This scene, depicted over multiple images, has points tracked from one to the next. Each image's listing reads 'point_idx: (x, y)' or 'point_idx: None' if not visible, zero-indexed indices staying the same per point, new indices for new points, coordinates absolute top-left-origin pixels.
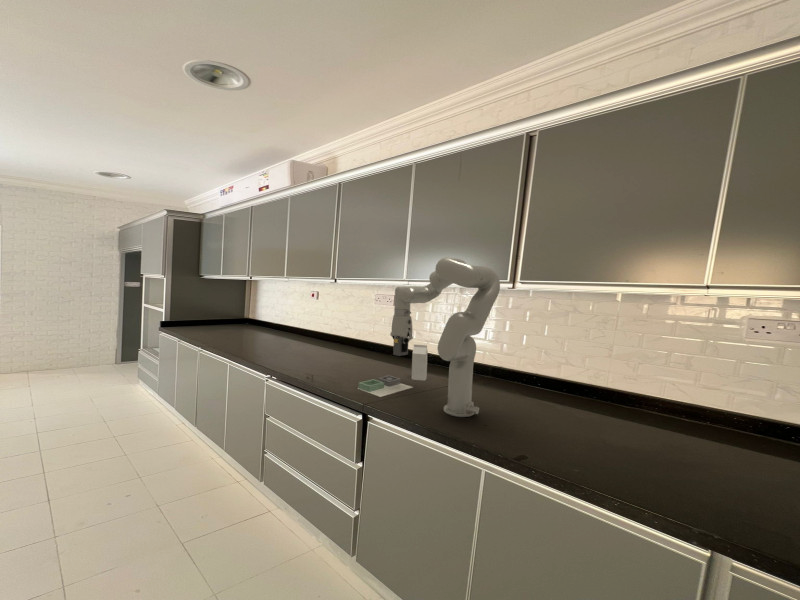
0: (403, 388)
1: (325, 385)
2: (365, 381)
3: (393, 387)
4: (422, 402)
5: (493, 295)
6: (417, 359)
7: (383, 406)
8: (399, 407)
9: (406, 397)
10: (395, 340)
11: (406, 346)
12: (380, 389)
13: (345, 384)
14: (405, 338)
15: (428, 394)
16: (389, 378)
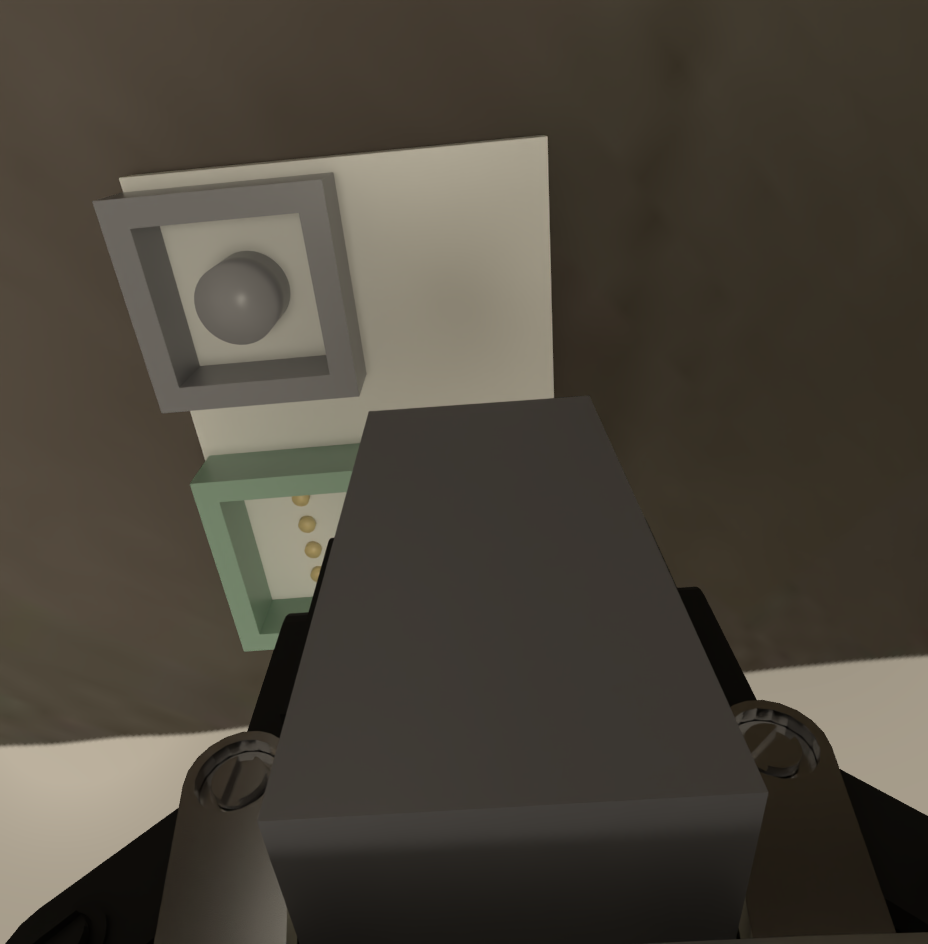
0: (511, 285)
1: (15, 713)
2: (235, 590)
3: (416, 354)
4: (876, 363)
5: None
6: None
7: None
8: (783, 579)
9: (674, 390)
10: None
11: (731, 678)
12: None
13: (40, 596)
14: (731, 929)
15: (796, 109)
16: (241, 309)
